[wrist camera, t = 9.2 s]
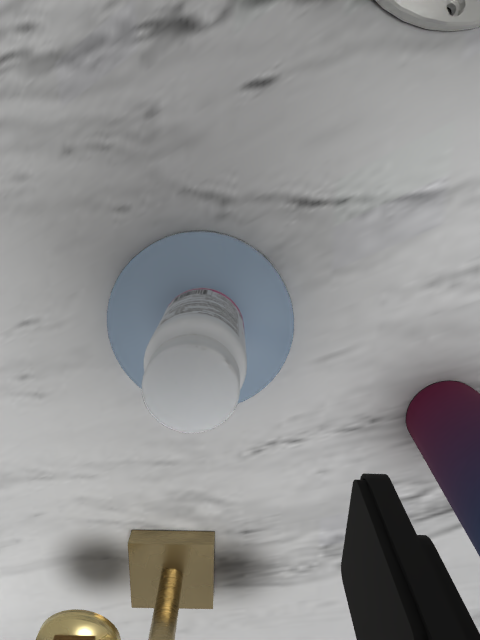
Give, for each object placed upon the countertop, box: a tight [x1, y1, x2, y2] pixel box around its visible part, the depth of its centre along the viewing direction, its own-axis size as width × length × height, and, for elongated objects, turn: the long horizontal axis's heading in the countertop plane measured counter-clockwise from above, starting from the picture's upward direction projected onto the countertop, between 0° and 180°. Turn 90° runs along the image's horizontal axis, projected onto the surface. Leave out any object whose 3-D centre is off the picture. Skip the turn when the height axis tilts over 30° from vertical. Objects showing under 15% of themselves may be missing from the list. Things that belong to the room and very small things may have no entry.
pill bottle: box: [142, 288, 247, 433], centre depth 21 cm, size 5×5×8 cm
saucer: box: [107, 231, 294, 404], centre depth 26 cm, size 11×11×1 cm
